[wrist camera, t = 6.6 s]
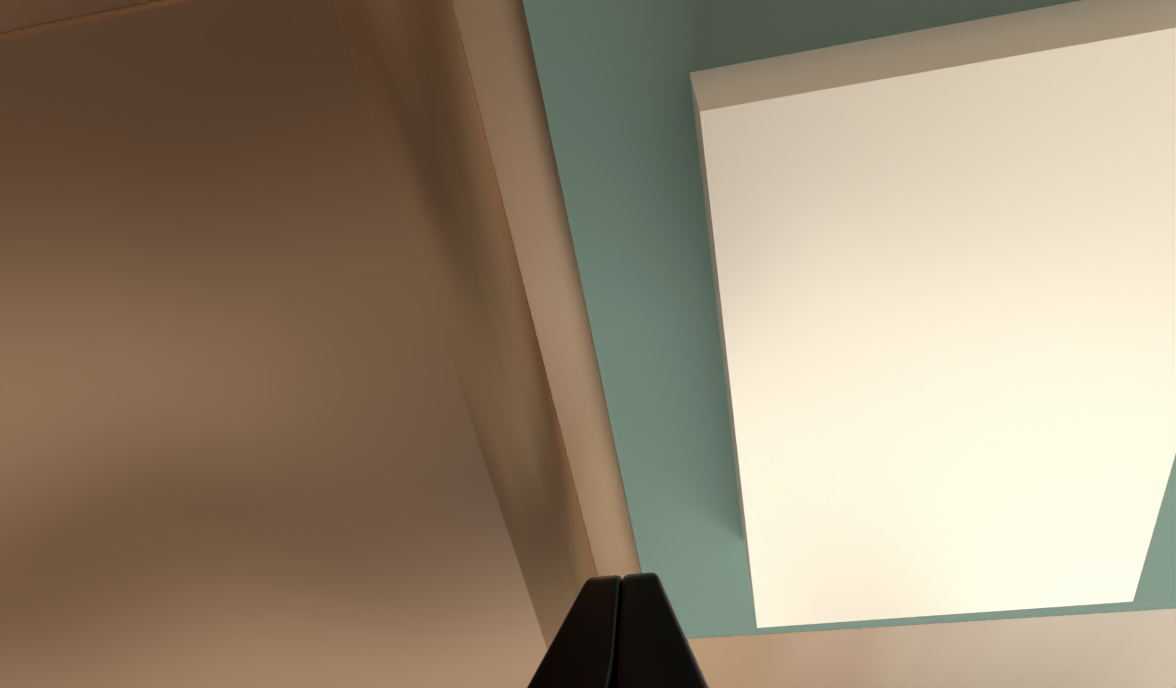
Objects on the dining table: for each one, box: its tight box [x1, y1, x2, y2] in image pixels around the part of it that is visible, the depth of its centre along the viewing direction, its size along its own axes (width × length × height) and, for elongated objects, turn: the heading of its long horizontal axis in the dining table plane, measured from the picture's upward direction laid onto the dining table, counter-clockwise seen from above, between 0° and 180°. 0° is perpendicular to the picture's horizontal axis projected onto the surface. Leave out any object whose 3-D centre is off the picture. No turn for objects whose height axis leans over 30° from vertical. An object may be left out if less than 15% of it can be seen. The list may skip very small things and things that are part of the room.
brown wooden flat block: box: [0, 0, 597, 688], centre depth 13 cm, size 14×18×4 cm
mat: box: [522, 0, 1176, 639], centre depth 12 cm, size 14×12×1 cm
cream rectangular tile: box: [690, 0, 1176, 628], centre depth 11 cm, size 9×6×2 cm, turn 11°
